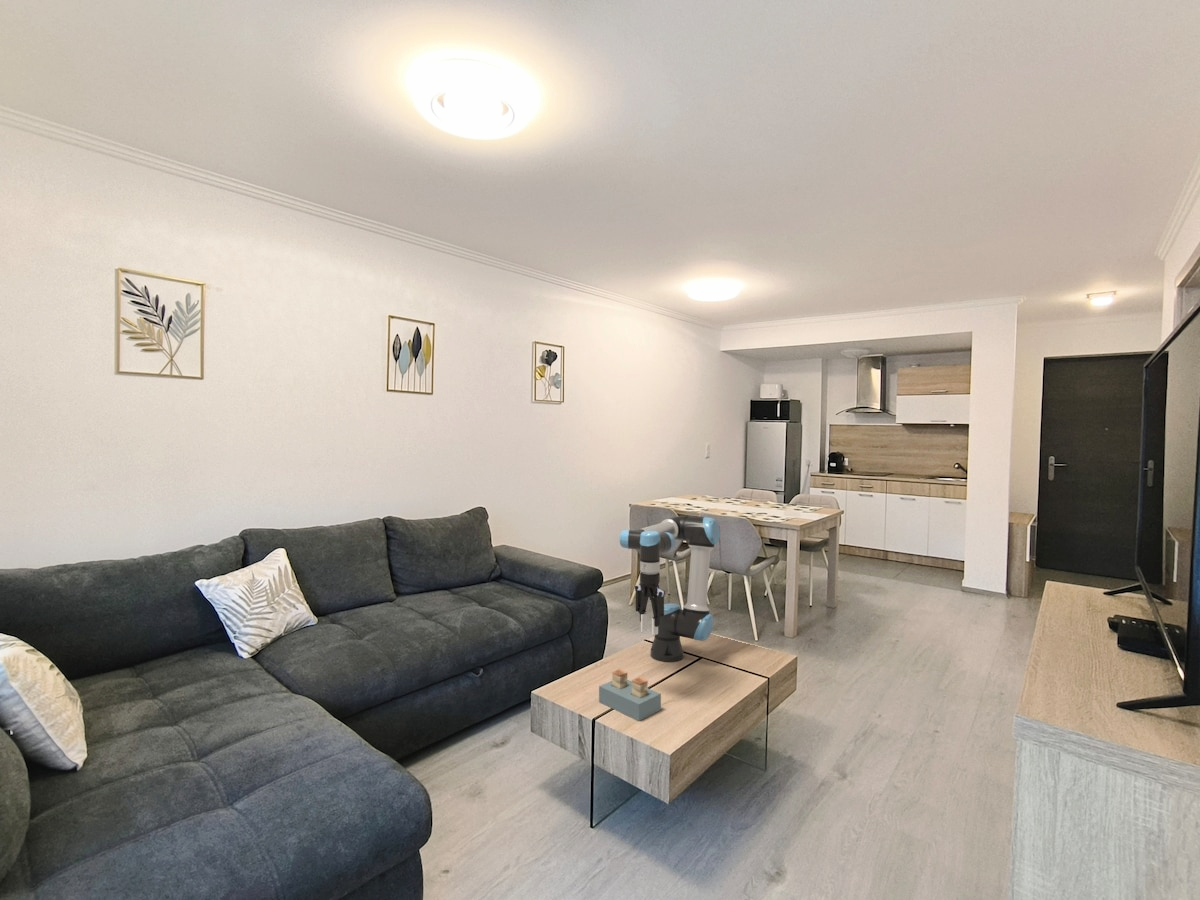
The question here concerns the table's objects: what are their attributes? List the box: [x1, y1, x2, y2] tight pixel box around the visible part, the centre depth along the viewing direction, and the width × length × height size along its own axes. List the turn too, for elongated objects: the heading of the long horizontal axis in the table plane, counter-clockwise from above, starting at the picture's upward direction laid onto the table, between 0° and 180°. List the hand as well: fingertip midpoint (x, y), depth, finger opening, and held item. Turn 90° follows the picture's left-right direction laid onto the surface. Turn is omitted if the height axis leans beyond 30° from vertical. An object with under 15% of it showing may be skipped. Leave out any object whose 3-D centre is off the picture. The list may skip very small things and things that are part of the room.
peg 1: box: [611, 668, 628, 689], centre depth 211 cm, size 4×4×6 cm
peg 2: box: [631, 676, 649, 698], centre depth 203 cm, size 4×4×6 cm
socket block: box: [598, 679, 662, 722], centre depth 207 cm, size 12×20×6 cm, turn 44°
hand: (649, 632), depth 214 cm, fingers open, 5 cm apart
